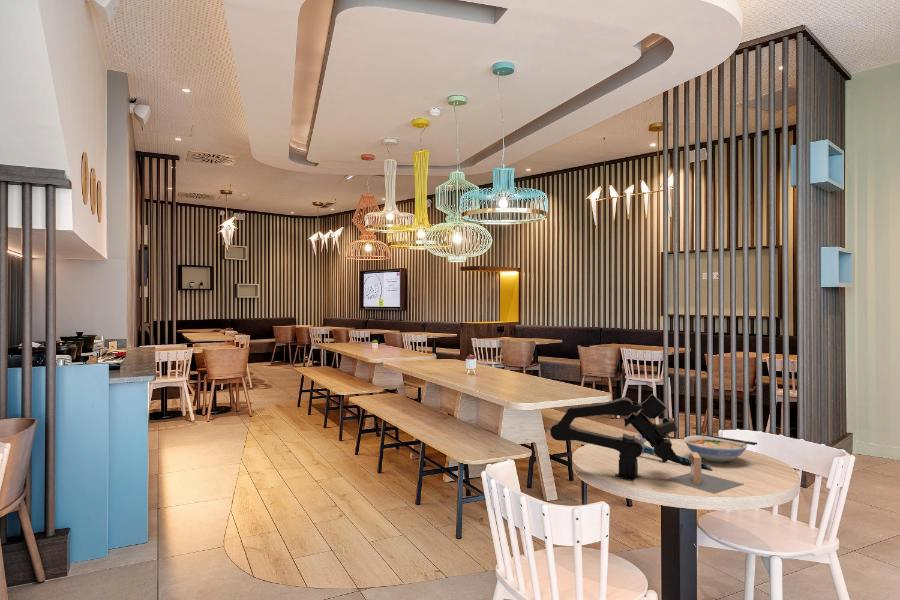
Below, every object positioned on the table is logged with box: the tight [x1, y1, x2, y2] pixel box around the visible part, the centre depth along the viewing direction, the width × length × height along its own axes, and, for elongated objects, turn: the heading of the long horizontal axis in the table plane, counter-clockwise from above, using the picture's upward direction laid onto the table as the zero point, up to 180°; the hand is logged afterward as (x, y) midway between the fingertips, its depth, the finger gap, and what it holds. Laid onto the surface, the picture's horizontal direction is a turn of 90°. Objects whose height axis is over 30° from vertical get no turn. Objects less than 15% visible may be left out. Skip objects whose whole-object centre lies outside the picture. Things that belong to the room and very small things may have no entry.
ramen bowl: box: [683, 432, 758, 463], centre depth 224 cm, size 25×23×8 cm
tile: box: [690, 451, 702, 485], centre depth 194 cm, size 2×8×9 cm, turn 164°
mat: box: [664, 472, 745, 494], centre depth 193 cm, size 18×18×1 cm
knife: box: [642, 443, 714, 472], centre depth 218 cm, size 31×3×4 cm, turn 38°
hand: (678, 461), depth 195 cm, fingers closed
